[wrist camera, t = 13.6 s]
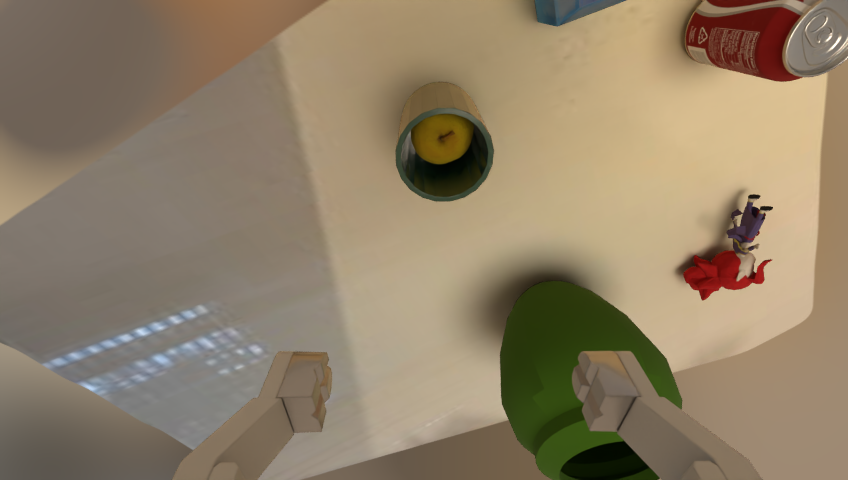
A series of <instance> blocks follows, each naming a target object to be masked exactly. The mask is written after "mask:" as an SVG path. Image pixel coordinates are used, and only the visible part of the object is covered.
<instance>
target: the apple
mask: <svg viewBox="0 0 848 480" xmlns="http://www.w3.org/2000/svg"><path fill="white" fill-rule="evenodd" d="M473 131H474V124H473V123H472V122H471V121H469V120H468V119H467V118H464V117H461V116H458V115H455V114H437V115H434V116H431V117H428V118H425V119H424V120H422V121H421V122H420V123H418V124H417V125H415V126H414V127H413V128H412V130H411V141H412V144H413V147H414V149H415V151H416V153H417V154H418V155H419V156H420V157H421V158H422V159H424V160H426V161H428V162H430V163H434V164H445V163H448V162H451V161H453V160H456V159H458V158H460V157H461V156H462V155H463V154H464V153H465V152H466V151H467V149H468V148H469V146H470V143H471V140H472V136H473Z"/></svg>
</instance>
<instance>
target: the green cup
mask: <svg viewBox="0 0 848 480" xmlns="http://www.w3.org/2000/svg"><path fill="white" fill-rule="evenodd" d="M437 114H455V115H458V116H461V117H464V118H467V119H468V120H469V121H471V122H472V123H473V124H474V131H473V136H472V140H471V143H470V146H469V148H468V149H467V151H466V152H465V153H464V154H463V155H462V156H461V157H460V158H458V159H456V160H453V161H451V162H448V163H445V164H434V163H430V162H428V161H426V160H424V159H422V158H421V157H420V156H419V155H418V154H417V153H416V151H415V149H414V147H413V144H412V141H411V130H412V128H413V127H414V126H415V125H417V124H418V123H420V122H421V121H422V120H424V119H425V118H428V117H431V116H434V115H437ZM493 154H494V149H493V144H492V140H491V136H490V134H489V132H488V130H487V128H486V126H485V124H484V122H483V120H482V117H481V115H480V113H479V111H478V109H477V107H476V105H475V104H474V102H473V100H472V99H471V97H470V96H469V95H468V94H467V93H466V92H465V91H464V90H463V89H462V88H460V87H458V86H456V85H454V84H451V83H447V82H434V83H430V84H427V85H424V86H422V87H421V88H419V89H418V90H416V91H415V92H414V93H413V94H412V95H411V96H410V98H409V99H408V101H407V102H406V104H405V106H404V109H403V112H402V116H401V121H400V127H399V133H398V139H397V145H396V166H397V169H398V172H399V174H400V177H401V179H402V180H403V181H404V183H405V184H406V185H407V186H408V188H409V189H410V190H412V191H413V192H415V193H416V194H418V195H419V196H421V197H423V198H426V199H429V200H433V201H453V200H457V199H460V198H464V197H466V196H467V195H469V194H470V193H472V192H474V191H475V190H476V189H477V188H478V187H479V186H480V185H481V184H482V183H483V182H484V181H485V179H486V178H487V176H488V174H489V171H490V169H491V167H492V163H493Z"/></svg>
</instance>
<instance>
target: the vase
mask: <svg viewBox="0 0 848 480" xmlns="http://www.w3.org/2000/svg"><path fill="white" fill-rule="evenodd" d="M582 351H630V352H632V353H633V354H634V356H635V358H636V359H637V361H638V362H639V364H640V366H641V367H642V369H643V371H644V372H645V374H646V376H647V377H648V379H649V381H650V382H651V384H652V386H653V387H654V389H655V391H656V392H657V394H658V396H659V397H665V398H666V399H667V400H669V401H670V402H671V403H673V404H674V405H676V406H677V407H678V408H680V409H681V410H682V398H681V396H680V393H679V391H678V388H677V385H676V382H675V380H674V377H673V375H672V372H671V369H670V367H669V364H668V362H667V359H666V358H665V357H664V355H663V354H662V353H661V352H660V351H659V350H658V349H657V348H656V346H655V345H654V344H653V343H652V342H651V341H650V340H649V339H648V338H647V337H646V336H645V335H644V334H643V333H642V331H641V330H640V329H639V328H638V327H637V326H636V325H635V324H634V323H633V322H632V321H631V320H630V319H629V318H628V316H627V315H625V314H624V313H623V312H621V311H620V310H618V309H617V308H615V307H614V306H613V305H611V304H610V303H608V302H607V301H605V300H604V299H603V298H601V297H600V296H598V295H597V294H595V293H594V292H592V291H590V290H587V289H585V288H582V287H580V286H577V285H574V284H572V283H569V282H563V281H545V282H541V283H538V284H536V285H534V286H532V287H530V288H529V289H528V290H527V291H525V292H524V293H523V294H522V295H521V296H520V297H519V299H518V300H517V301H516V303H515V305H514V307H513V309H512V311H511V313H510V315H509V317H508V319H507V322H506V327H505V332H504V337H503V342H502V347H501V352H500V370H501V399H502V405H503V408H504V410H505V412H506V415H507V417H508V419H509V421H510V424H511V426H512V428H513V431H514V433H515V435H516V437H517V440H518V441H519V442H520V443H521V444H522V445H523V446H524V447H525V448H526V449H527V450H528V451H530V452H531V453H532V454H534V455H535V458H536V464H537V466H538V468H539V470H540V471H541V472H542V473H543V474H544V475H546V476H547V477H549V478H550V479H552V480H658V479H660V477H659V476H658V475H657V474H656V473H655V472H654V471H653V470H652V469H651V468H650V467H649V466H648V465H647V464H646V463H645V462H644V461H643V460H642V459H641V458H640V457H639V456H638V454H637V453H636V452H635V451H634V450H633V449H632V448H631V447H630V446H629V445H628V444H627V443H626V442H625V441H624V440H623V439H622V438H621V437H620V436H619V435H618V434H617V432H609V431H590V430H589V428H588V425H587V423H586V420H585V418H584V415H583V413H582V408H583V405H584V404H583V403H582V402H581V401H580V400H579V399H578V398H577V397H576V395H575V392H574V389H573V384H572V373H573V370H574V367H576V366H577V365H579V364H580V363H579V361H578V356H579V354H580V353H581V352H582Z"/></svg>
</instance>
